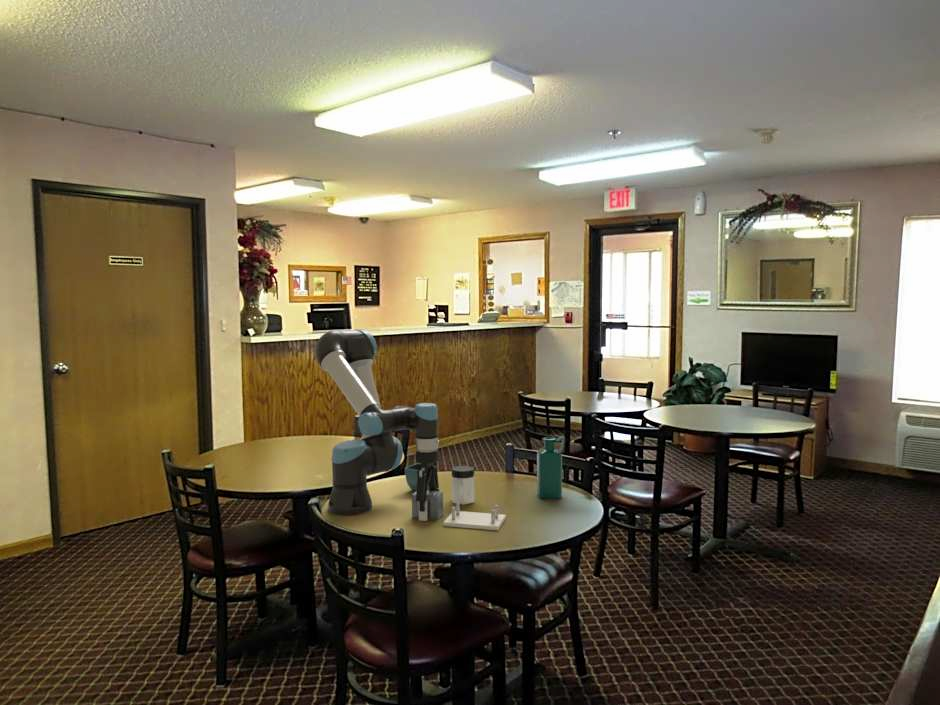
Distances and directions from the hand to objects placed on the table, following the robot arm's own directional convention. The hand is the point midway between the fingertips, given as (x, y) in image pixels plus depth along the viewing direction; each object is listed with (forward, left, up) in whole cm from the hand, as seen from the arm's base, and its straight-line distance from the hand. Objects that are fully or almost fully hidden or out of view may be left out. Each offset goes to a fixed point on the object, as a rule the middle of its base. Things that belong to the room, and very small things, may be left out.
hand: (428, 515), depth 217 cm
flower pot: (-13, +29, 0) cm, 32 cm away
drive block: (0, 0, 0) cm, 0 cm away
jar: (+7, +19, 0) cm, 20 cm away
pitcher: (+37, +33, 0) cm, 50 cm away
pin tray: (+17, -2, 0) cm, 17 cm away
